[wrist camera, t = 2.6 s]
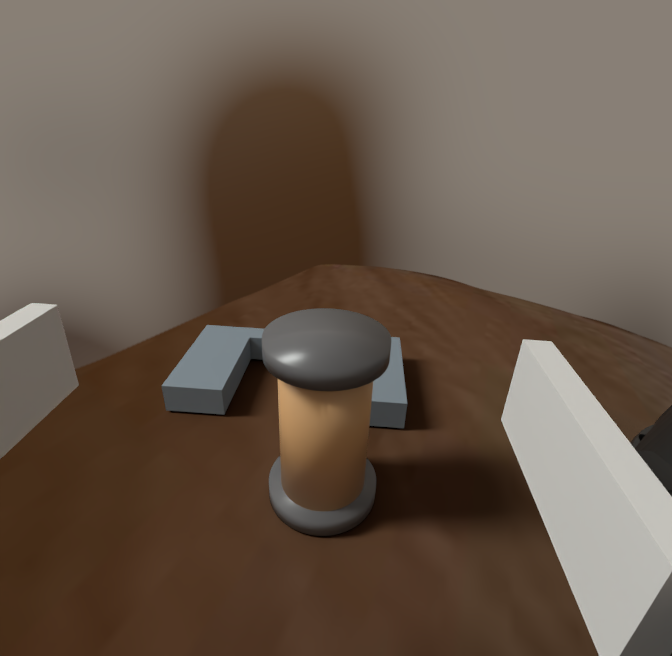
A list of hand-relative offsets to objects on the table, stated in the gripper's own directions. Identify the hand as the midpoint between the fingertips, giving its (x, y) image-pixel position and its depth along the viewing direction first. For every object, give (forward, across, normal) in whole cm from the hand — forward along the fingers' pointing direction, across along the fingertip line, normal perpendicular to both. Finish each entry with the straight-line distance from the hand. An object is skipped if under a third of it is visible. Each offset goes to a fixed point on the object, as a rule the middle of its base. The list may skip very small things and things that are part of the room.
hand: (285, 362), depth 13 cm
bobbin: (+11, 0, -17) cm, 20 cm away
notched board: (+23, -4, -17) cm, 29 cm away
